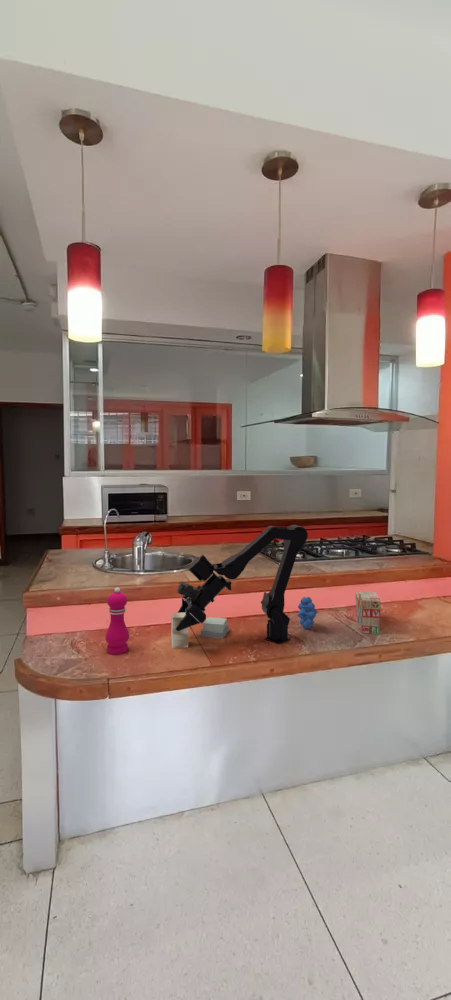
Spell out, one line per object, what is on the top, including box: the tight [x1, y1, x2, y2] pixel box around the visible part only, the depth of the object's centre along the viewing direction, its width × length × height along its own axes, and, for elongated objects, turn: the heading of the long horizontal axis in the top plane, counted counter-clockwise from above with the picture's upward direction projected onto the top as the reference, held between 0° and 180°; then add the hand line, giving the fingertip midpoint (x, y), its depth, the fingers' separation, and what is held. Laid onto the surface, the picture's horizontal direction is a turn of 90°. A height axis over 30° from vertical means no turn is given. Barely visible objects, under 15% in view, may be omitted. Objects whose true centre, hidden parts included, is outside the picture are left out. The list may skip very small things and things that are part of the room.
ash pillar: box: [170, 612, 189, 649], centre depth 151 cm, size 5×5×10 cm
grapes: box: [297, 596, 318, 630], centre depth 169 cm, size 12×7×12 cm, turn 15°
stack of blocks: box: [355, 591, 382, 635], centre depth 174 cm, size 21×6×12 cm, turn 170°
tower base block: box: [199, 625, 230, 639], centre depth 163 cm, size 8×8×2 cm
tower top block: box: [202, 616, 228, 632], centre depth 163 cm, size 7×7×2 cm
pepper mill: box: [104, 587, 130, 655], centre depth 146 cm, size 7×7×20 cm
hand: (175, 625), depth 151 cm, fingers open, 9 cm apart
